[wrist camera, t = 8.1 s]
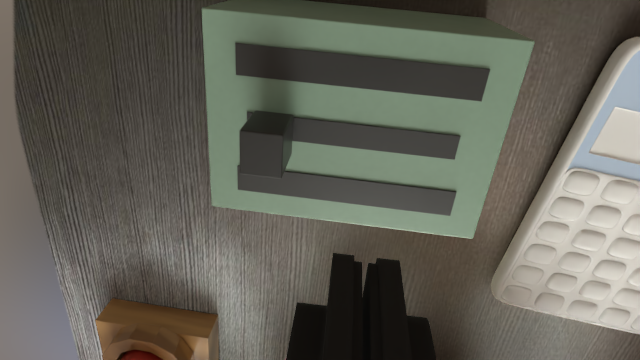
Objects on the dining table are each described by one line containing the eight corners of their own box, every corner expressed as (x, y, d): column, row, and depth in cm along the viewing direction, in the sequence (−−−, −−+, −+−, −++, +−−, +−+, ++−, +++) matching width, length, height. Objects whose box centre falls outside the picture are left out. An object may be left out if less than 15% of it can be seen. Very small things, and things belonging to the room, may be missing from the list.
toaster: (249, 148, 29) (210, 207, 22) (249, -6, 25) (199, 7, 17) (447, 171, 28) (473, 240, 21) (486, 17, 24) (536, 41, 17)
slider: (257, 144, 20) (239, 174, 17) (257, 105, 19) (238, 130, 16) (293, 149, 20) (281, 179, 17) (296, 110, 19) (283, 135, 16)
